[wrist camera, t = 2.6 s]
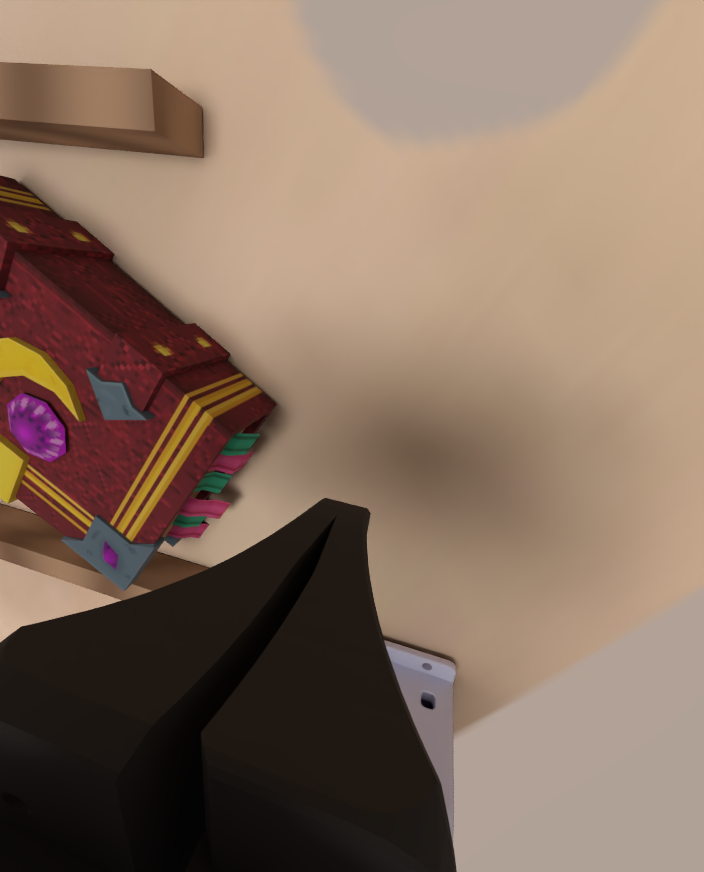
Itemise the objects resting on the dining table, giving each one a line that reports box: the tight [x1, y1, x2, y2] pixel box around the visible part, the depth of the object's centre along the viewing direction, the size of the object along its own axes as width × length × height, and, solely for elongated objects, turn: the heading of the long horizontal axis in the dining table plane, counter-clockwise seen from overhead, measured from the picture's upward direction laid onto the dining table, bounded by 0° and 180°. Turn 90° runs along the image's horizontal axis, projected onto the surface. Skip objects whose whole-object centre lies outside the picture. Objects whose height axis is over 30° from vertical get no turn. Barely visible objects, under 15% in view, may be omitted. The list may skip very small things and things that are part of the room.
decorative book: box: [0, 176, 276, 591], centre depth 17 cm, size 11×16×5 cm
